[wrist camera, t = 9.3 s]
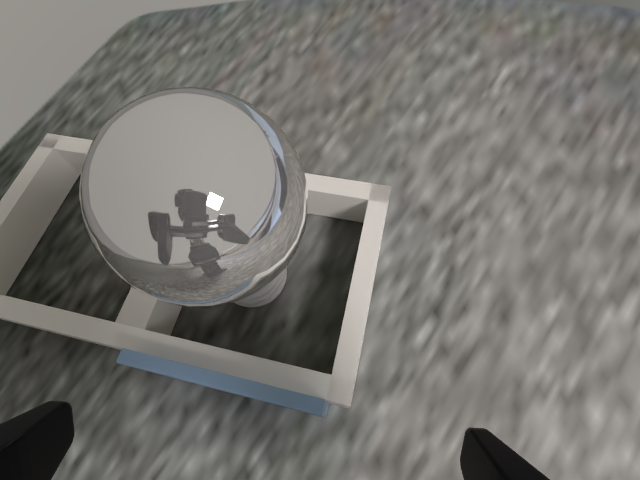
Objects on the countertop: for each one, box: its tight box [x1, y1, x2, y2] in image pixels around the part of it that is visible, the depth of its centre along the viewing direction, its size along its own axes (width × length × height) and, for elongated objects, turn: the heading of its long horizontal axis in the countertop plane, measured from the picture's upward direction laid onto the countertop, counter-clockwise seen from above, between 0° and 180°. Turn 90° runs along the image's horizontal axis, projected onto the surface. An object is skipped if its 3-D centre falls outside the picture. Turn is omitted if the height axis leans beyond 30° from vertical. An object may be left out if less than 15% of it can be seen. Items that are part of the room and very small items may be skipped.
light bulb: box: [79, 87, 308, 307], centre depth 15 cm, size 7×7×12 cm
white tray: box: [0, 133, 391, 417], centre depth 19 cm, size 11×21×4 cm, turn 77°
